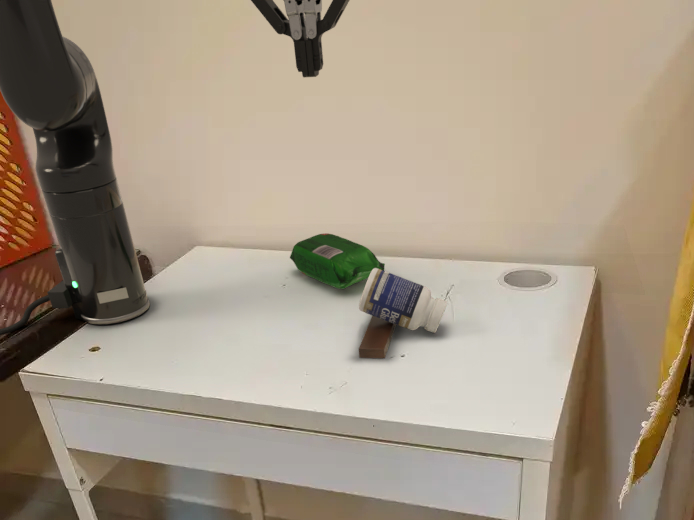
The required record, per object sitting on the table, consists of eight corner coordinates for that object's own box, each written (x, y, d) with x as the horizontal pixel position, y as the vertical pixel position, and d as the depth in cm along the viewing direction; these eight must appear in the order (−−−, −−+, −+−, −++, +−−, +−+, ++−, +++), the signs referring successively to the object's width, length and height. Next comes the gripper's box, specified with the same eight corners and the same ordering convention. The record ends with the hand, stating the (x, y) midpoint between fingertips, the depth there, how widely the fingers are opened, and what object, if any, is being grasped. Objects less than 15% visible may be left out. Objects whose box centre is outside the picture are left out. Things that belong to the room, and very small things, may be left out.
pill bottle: (356, 305, 84) (435, 335, 84) (373, 262, 84) (452, 291, 83) (358, 313, 89) (431, 341, 89) (373, 272, 89) (447, 300, 89)
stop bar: (359, 357, 84) (358, 348, 83) (376, 314, 93) (376, 305, 92) (384, 358, 83) (384, 349, 82) (399, 314, 92) (399, 305, 92)
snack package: (346, 301, 97) (344, 263, 94) (286, 271, 108) (282, 236, 105) (388, 287, 100) (387, 250, 97) (326, 259, 111) (323, 225, 108)
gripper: (363, -124, 74) (373, 67, 84) (241, -109, 77) (265, 74, 87) (348, -128, 68) (361, 78, 78) (217, -112, 71) (245, 85, 81)
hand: (310, 76), depth 82 cm, fingers closed
